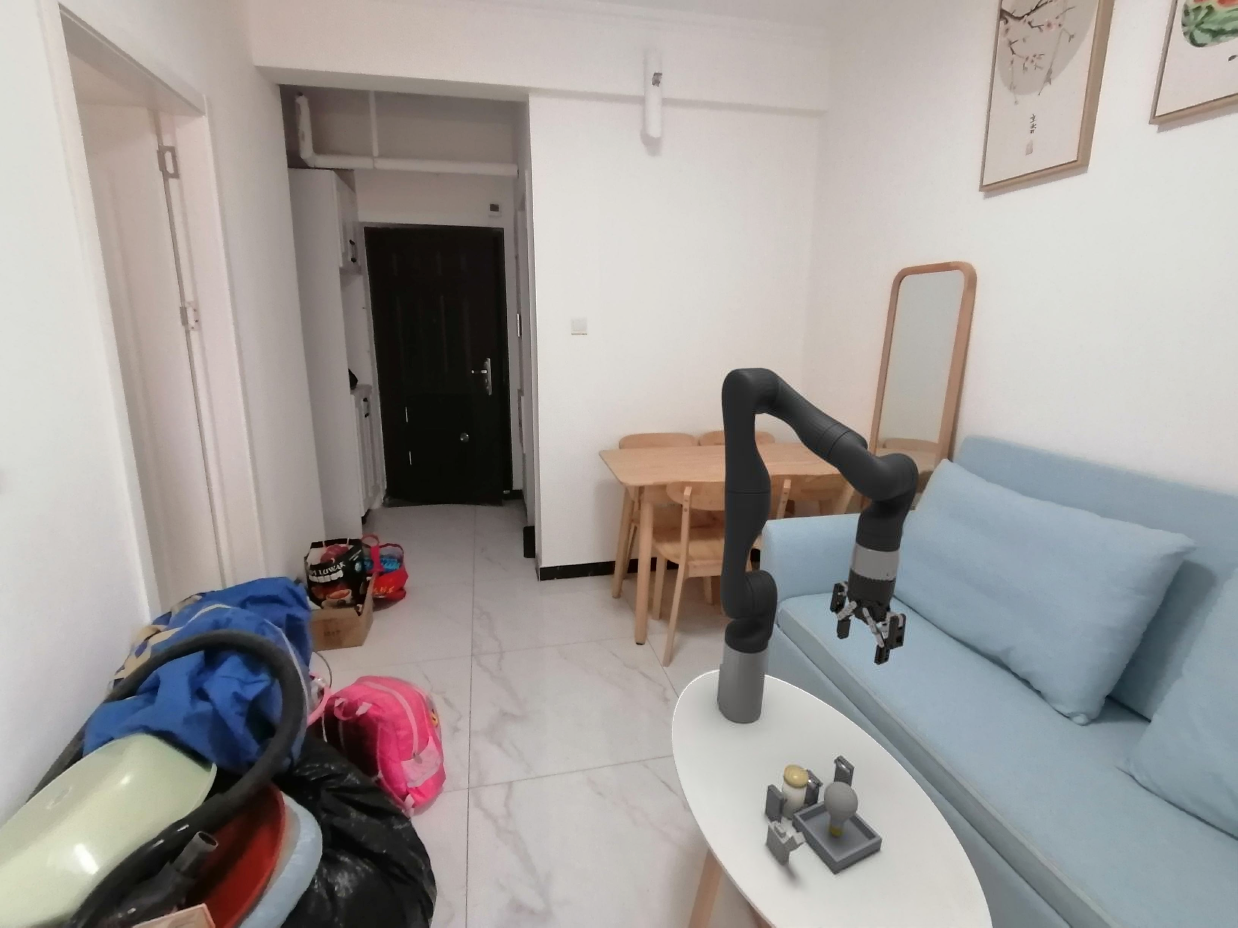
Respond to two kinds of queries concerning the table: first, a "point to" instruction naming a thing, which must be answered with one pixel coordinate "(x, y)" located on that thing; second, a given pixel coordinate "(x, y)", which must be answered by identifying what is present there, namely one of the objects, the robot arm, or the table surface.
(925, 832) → the table surface
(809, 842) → the tray
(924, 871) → the table surface
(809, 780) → the clip block
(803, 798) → the cream domed cylinder
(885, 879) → the table surface
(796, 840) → the lighter
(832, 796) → the light bulb
